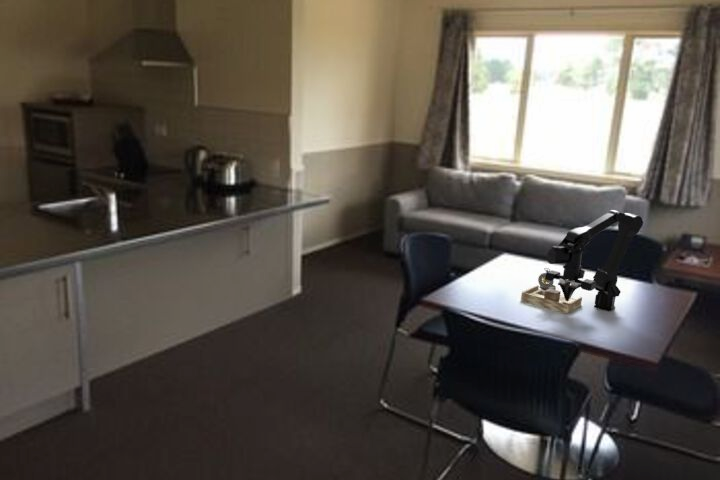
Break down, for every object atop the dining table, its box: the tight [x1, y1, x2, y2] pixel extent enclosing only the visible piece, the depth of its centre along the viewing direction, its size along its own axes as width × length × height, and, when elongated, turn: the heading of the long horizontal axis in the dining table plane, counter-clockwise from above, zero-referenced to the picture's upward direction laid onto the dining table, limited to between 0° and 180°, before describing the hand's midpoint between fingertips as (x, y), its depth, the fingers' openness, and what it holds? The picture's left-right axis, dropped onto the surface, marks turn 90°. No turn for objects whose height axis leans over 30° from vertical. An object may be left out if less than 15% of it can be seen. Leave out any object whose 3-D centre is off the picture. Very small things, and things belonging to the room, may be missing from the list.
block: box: [544, 289, 562, 302], centre depth 242 cm, size 4×4×4 cm
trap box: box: [520, 284, 583, 314], centre depth 247 cm, size 20×14×4 cm
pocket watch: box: [537, 267, 557, 290], centre depth 264 cm, size 8×8×10 cm
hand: (567, 301), depth 239 cm, fingers closed
